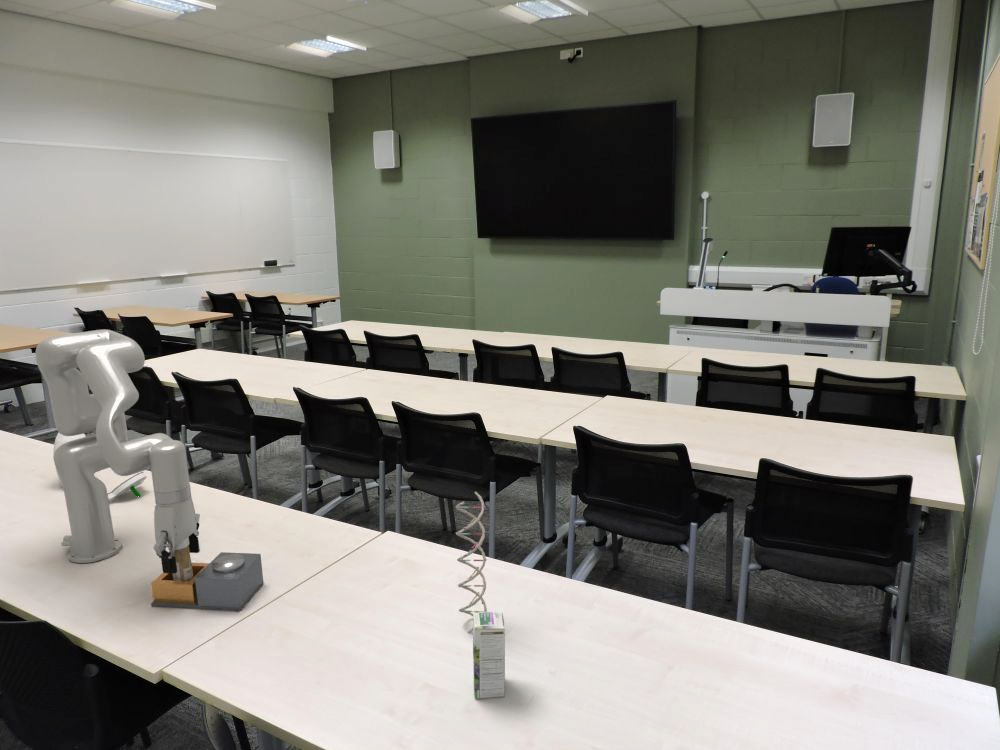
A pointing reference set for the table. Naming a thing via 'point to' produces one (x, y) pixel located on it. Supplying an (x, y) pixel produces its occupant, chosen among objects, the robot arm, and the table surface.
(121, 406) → the robot arm
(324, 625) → the table surface
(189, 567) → the spice jar
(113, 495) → the tabbed white plastic disc
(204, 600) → the grey orange box device
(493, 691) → the syrup box
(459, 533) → the dna model
